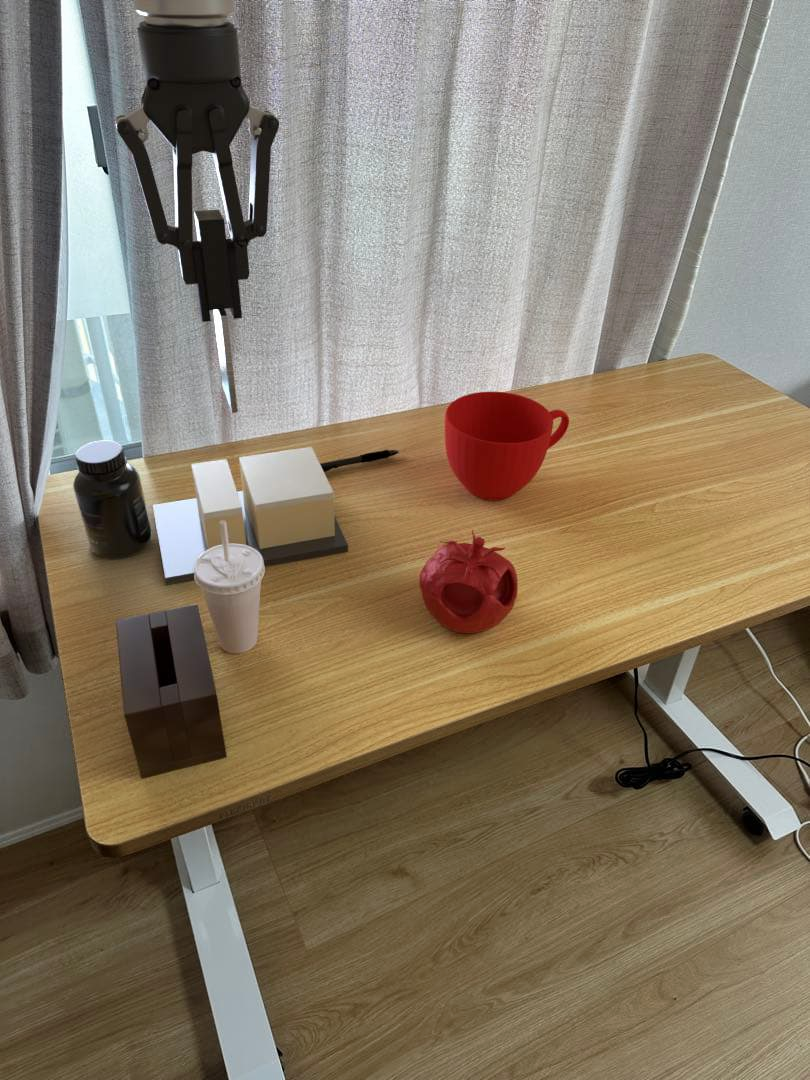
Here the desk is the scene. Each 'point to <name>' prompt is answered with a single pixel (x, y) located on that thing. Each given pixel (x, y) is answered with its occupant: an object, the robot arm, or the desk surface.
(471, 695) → the desk surface
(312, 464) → the cake
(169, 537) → the cake board
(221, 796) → the desk surface
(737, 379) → the desk surface
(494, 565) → the pomegranate
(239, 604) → the smoothie
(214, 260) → the knife
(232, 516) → the cream rectangular block
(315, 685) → the desk surface
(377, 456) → the pen
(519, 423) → the ceramic cup
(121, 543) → the supplement bottle
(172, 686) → the knife block
